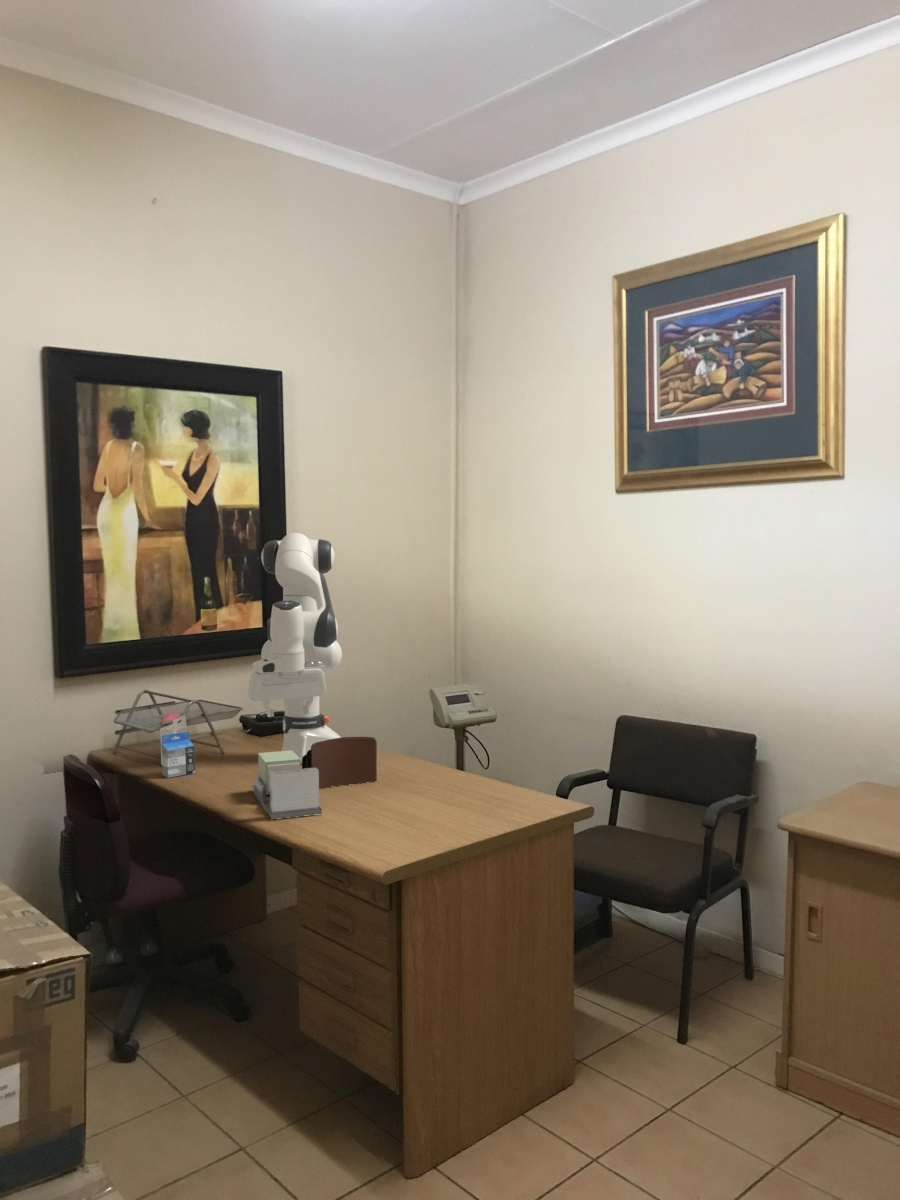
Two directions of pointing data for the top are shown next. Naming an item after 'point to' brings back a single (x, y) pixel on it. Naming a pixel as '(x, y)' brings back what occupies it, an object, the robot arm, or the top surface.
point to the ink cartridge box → (174, 729)
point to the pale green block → (276, 764)
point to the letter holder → (343, 760)
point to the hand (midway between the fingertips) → (288, 715)
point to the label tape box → (177, 755)
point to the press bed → (290, 793)
